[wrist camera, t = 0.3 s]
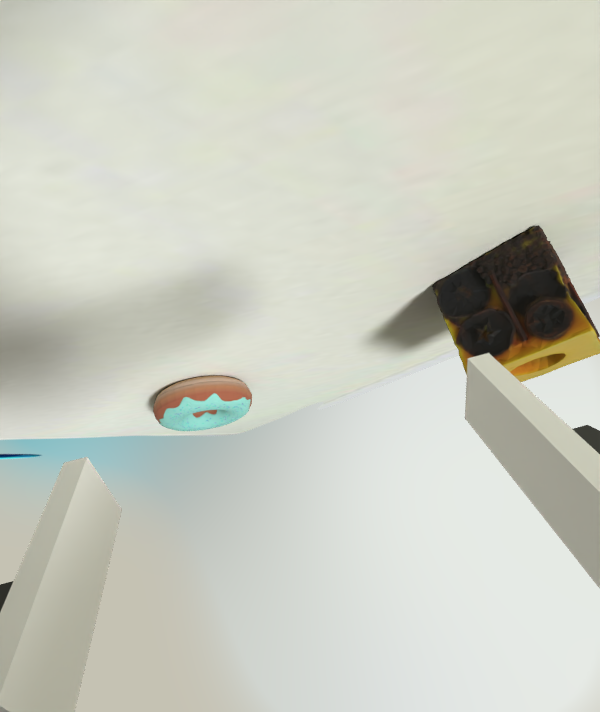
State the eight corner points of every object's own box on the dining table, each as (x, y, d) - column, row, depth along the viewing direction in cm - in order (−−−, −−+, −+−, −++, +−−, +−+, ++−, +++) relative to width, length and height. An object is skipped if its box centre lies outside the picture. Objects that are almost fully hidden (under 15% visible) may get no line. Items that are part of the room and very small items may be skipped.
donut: (262, 368, 50) (268, 399, 49) (234, 403, 60) (238, 429, 58) (159, 371, 45) (162, 406, 43) (146, 409, 54) (148, 438, 53)
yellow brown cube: (537, 220, 34) (597, 327, 30) (562, 260, 41) (613, 350, 38) (427, 284, 40) (465, 380, 36) (466, 309, 47) (501, 391, 43)
